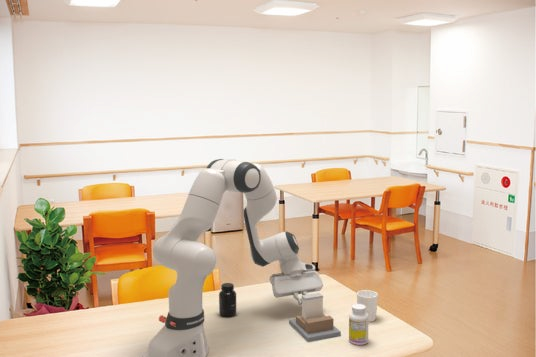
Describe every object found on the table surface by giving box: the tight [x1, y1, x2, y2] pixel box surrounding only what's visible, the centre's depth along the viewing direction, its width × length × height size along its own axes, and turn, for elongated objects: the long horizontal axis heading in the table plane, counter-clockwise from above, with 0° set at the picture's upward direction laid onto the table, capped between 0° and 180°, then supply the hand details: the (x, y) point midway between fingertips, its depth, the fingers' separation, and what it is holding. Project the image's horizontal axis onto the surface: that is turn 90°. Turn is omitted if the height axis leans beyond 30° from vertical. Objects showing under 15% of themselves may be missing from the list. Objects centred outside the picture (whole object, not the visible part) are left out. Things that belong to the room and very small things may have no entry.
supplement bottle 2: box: [348, 303, 369, 346], centre depth 186 cm, size 7×7×13 cm
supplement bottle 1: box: [218, 282, 237, 318], centre depth 211 cm, size 7×7×12 cm
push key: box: [301, 292, 324, 321], centre depth 197 cm, size 3×7×11 cm, turn 111°
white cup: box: [356, 289, 379, 323], centre depth 205 cm, size 8×8×10 cm
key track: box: [288, 313, 342, 343], centre depth 196 cm, size 16×13×6 cm
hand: (303, 303), depth 205 cm, fingers closed
